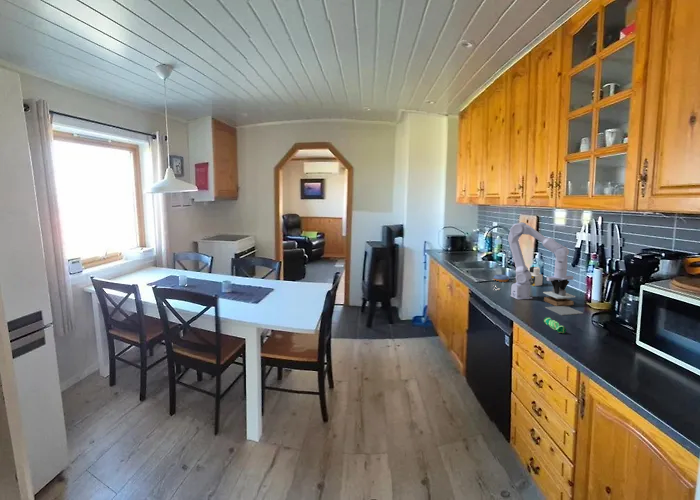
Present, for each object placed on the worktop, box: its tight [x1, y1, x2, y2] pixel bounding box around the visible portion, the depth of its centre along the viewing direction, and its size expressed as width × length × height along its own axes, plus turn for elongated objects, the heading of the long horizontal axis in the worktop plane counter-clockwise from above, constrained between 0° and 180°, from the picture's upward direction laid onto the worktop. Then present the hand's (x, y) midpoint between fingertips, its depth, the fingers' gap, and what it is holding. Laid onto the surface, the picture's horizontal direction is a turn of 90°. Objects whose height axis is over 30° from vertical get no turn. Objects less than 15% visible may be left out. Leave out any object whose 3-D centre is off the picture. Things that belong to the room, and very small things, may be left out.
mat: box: [545, 305, 584, 316], centre depth 178 cm, size 12×12×1 cm
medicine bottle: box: [529, 266, 544, 287], centre depth 229 cm, size 7×7×12 cm
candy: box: [543, 316, 567, 334], centre depth 155 cm, size 12×3×4 cm
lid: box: [542, 287, 576, 299], centre depth 189 cm, size 11×11×4 cm
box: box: [543, 296, 574, 307], centre depth 190 cm, size 10×10×2 cm
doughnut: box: [492, 274, 509, 283], centre depth 242 cm, size 10×10×5 cm
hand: (558, 293), depth 189 cm, fingers closed on lid, 2 cm apart
